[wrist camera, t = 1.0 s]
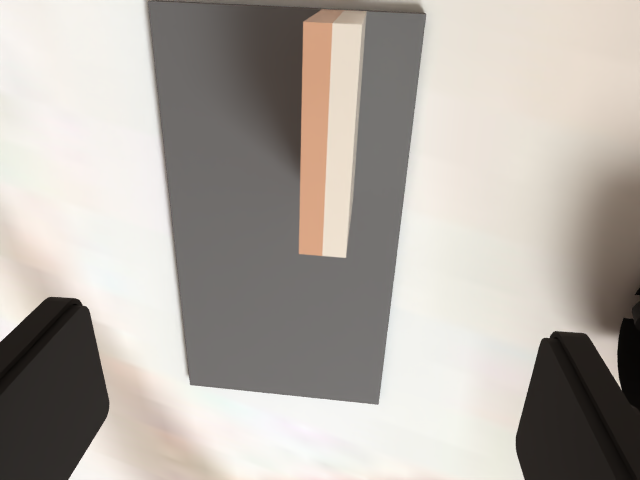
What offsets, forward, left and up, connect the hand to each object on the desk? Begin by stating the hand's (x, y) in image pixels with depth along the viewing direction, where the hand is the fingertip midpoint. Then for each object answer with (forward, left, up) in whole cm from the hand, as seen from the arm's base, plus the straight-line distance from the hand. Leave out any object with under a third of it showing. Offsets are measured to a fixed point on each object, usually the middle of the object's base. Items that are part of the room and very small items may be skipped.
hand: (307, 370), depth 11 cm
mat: (+7, -4, -20) cm, 22 cm away
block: (-1, -1, -20) cm, 20 cm away
